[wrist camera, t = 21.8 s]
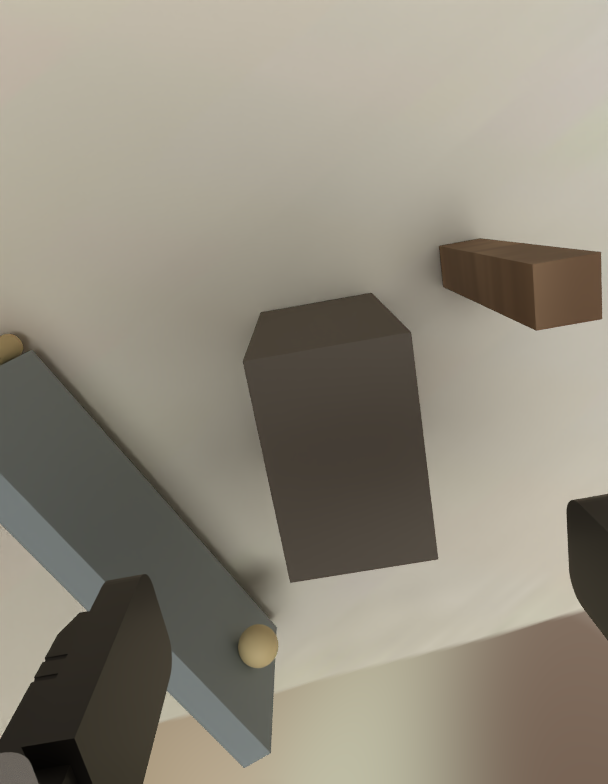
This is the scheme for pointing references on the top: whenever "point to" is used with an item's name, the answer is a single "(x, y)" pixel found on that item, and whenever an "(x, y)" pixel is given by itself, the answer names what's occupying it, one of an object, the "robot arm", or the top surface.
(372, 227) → the top surface
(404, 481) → the block
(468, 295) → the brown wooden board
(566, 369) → the top surface
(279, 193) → the top surface
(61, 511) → the door
